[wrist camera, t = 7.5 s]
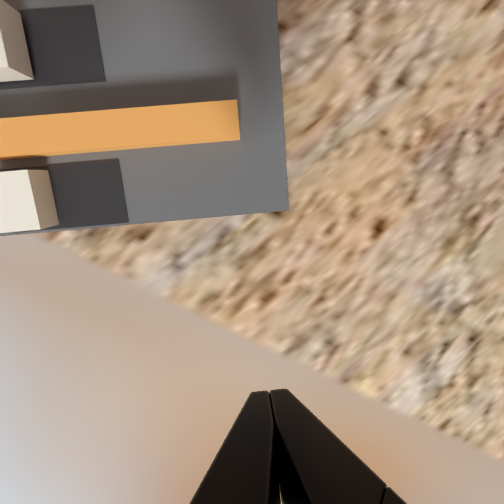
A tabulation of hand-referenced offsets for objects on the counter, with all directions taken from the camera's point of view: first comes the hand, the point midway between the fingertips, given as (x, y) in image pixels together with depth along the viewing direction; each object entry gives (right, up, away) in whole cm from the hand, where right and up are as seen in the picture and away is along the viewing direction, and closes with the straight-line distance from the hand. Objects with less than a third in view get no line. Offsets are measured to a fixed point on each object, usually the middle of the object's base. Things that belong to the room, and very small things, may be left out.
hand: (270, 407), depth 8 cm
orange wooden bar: (-9, +8, +7) cm, 14 cm away
